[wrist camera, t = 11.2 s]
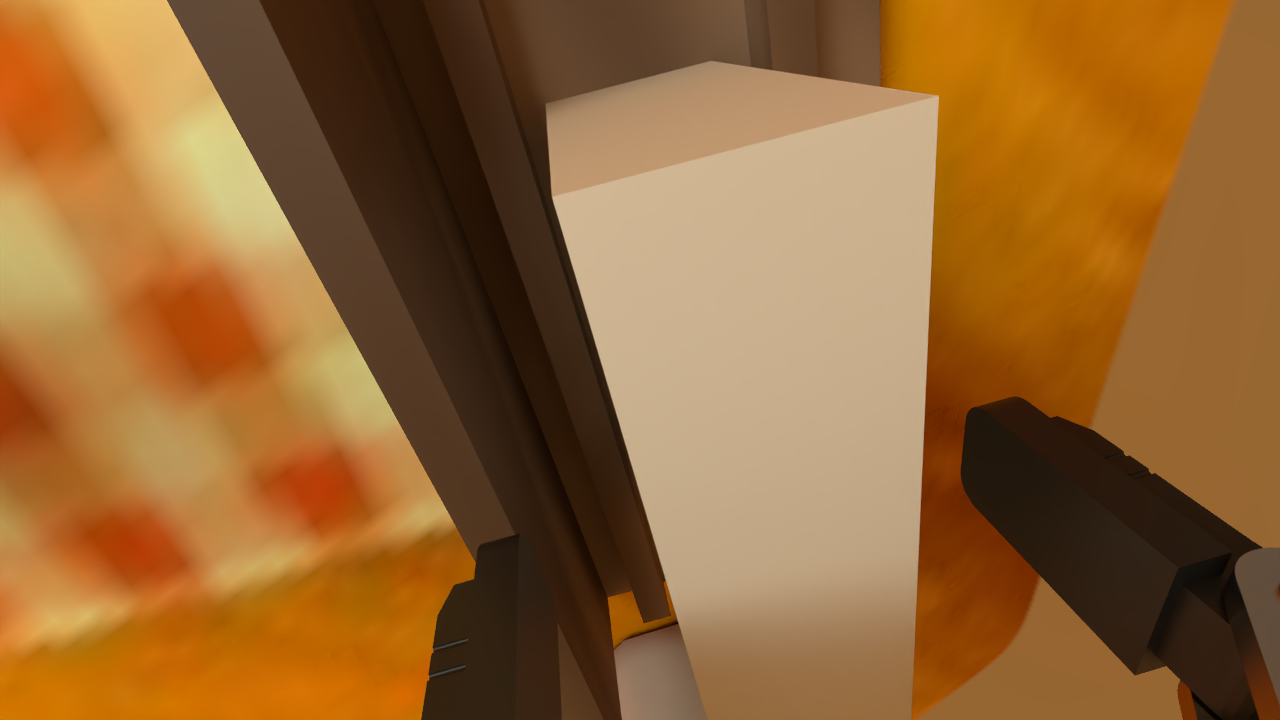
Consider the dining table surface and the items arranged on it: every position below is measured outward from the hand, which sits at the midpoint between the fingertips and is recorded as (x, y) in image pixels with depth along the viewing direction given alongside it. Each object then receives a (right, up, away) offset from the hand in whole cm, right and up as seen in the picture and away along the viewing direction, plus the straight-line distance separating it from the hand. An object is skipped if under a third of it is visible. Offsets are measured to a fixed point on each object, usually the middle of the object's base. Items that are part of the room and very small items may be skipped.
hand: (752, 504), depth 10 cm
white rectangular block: (-1, +4, +6) cm, 8 cm away
